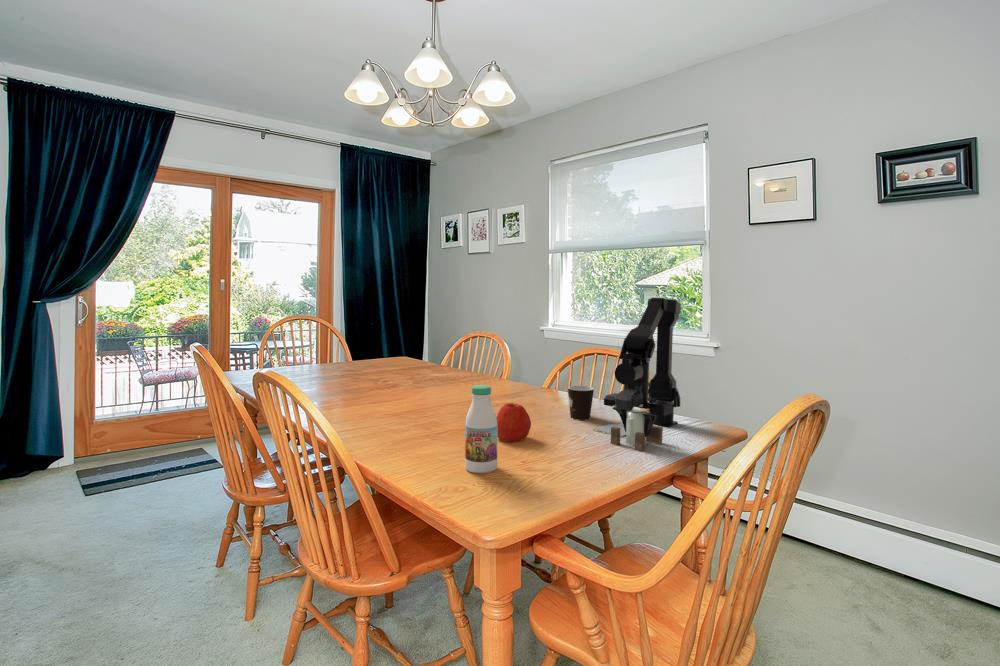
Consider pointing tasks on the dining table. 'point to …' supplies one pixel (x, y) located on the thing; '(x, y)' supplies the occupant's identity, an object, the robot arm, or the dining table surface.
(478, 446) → the milk bottle
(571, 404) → the coffee mug
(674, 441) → the dining table surface
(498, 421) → the apple
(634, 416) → the cylinder with square knob
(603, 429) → the slate mat
